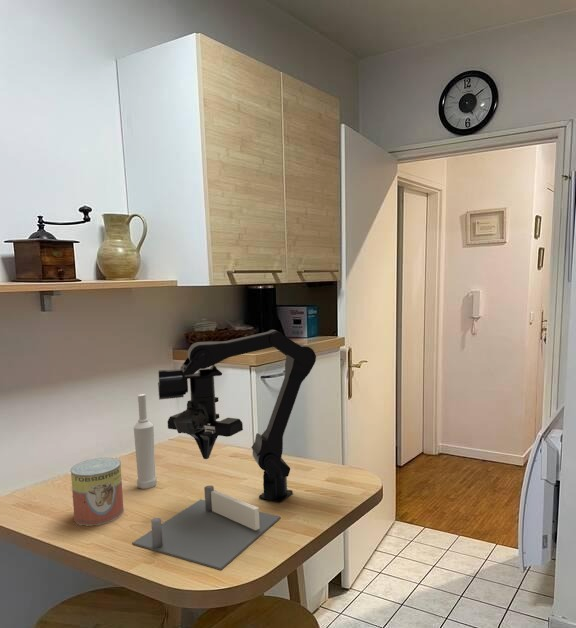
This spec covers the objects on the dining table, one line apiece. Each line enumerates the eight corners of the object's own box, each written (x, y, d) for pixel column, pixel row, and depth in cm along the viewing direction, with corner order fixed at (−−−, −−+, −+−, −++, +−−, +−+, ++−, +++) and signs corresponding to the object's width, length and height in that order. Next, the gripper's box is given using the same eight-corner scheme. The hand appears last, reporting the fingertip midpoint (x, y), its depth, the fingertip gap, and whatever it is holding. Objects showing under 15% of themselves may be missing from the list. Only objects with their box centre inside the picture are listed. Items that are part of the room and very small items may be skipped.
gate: (203, 508, 121) (202, 487, 121) (210, 505, 123) (209, 484, 123) (253, 531, 109) (252, 508, 109) (261, 527, 111) (260, 504, 110)
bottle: (136, 483, 141) (130, 394, 139) (155, 480, 143) (150, 391, 141) (138, 490, 136) (132, 398, 134) (158, 486, 138) (152, 395, 136)
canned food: (78, 530, 115) (75, 478, 114) (70, 512, 124) (66, 464, 123) (129, 516, 121) (126, 467, 120) (117, 500, 130) (114, 454, 129)
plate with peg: (200, 500, 128) (199, 477, 127) (280, 518, 117) (279, 493, 116) (132, 544, 108) (130, 517, 107) (221, 570, 97) (219, 540, 96)
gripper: (149, 399, 120) (153, 464, 121) (214, 406, 111) (217, 476, 112) (181, 389, 129) (184, 450, 131) (242, 395, 121) (245, 459, 122)
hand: (206, 458), depth 123 cm, fingers closed
